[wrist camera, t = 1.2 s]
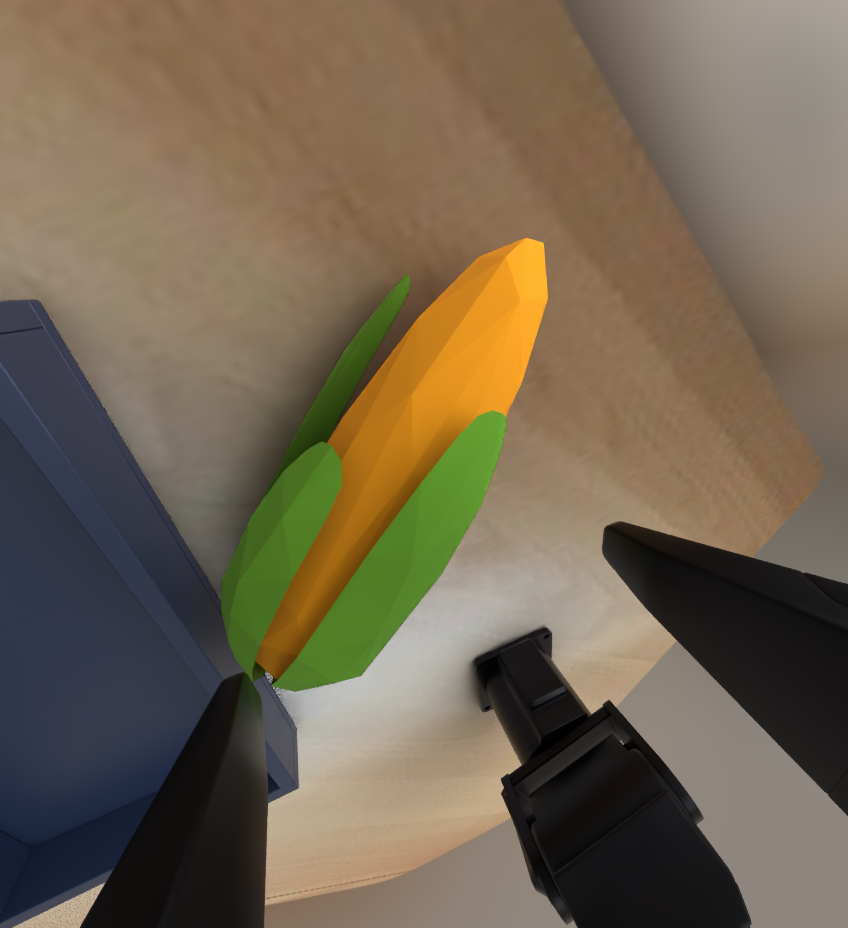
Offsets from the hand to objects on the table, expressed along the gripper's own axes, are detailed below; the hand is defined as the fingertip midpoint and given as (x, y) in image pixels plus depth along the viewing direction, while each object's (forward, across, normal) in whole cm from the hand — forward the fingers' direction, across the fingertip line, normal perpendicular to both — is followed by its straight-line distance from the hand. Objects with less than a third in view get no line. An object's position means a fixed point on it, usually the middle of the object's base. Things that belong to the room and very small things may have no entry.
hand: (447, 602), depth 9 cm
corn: (+10, 0, 0) cm, 10 cm away
